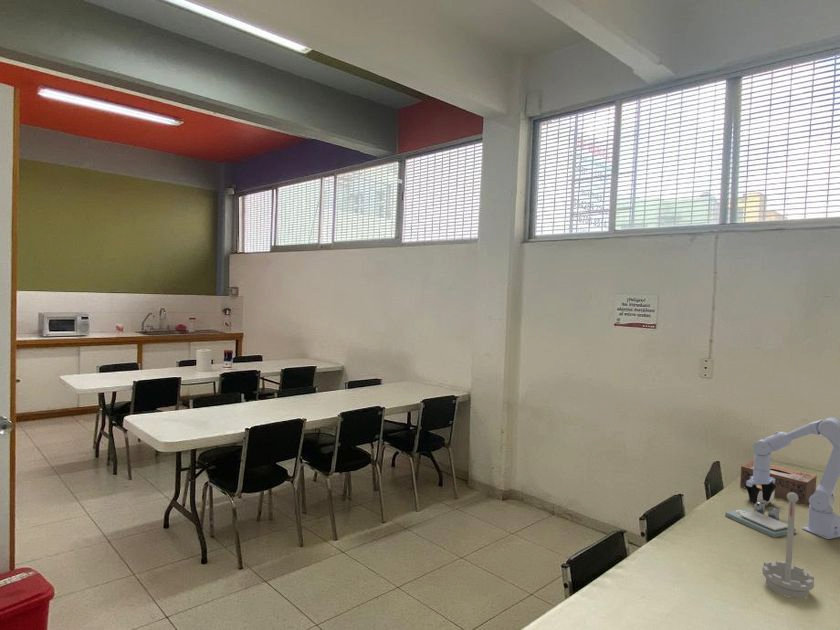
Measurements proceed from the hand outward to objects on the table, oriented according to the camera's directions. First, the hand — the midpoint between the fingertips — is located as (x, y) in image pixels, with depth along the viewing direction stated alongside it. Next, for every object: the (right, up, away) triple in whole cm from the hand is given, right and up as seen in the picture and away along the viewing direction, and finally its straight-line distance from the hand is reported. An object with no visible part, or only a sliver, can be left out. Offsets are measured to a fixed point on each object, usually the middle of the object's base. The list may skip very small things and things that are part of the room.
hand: (759, 501), depth 218 cm
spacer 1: (0, -5, 0) cm, 5 cm away
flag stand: (-27, -8, -55) cm, 61 cm away
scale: (-6, -6, -9) cm, 12 cm away
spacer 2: (+2, -6, -5) cm, 8 cm away
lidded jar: (+9, -5, +13) cm, 17 cm away
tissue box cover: (+25, -5, +27) cm, 37 cm away
